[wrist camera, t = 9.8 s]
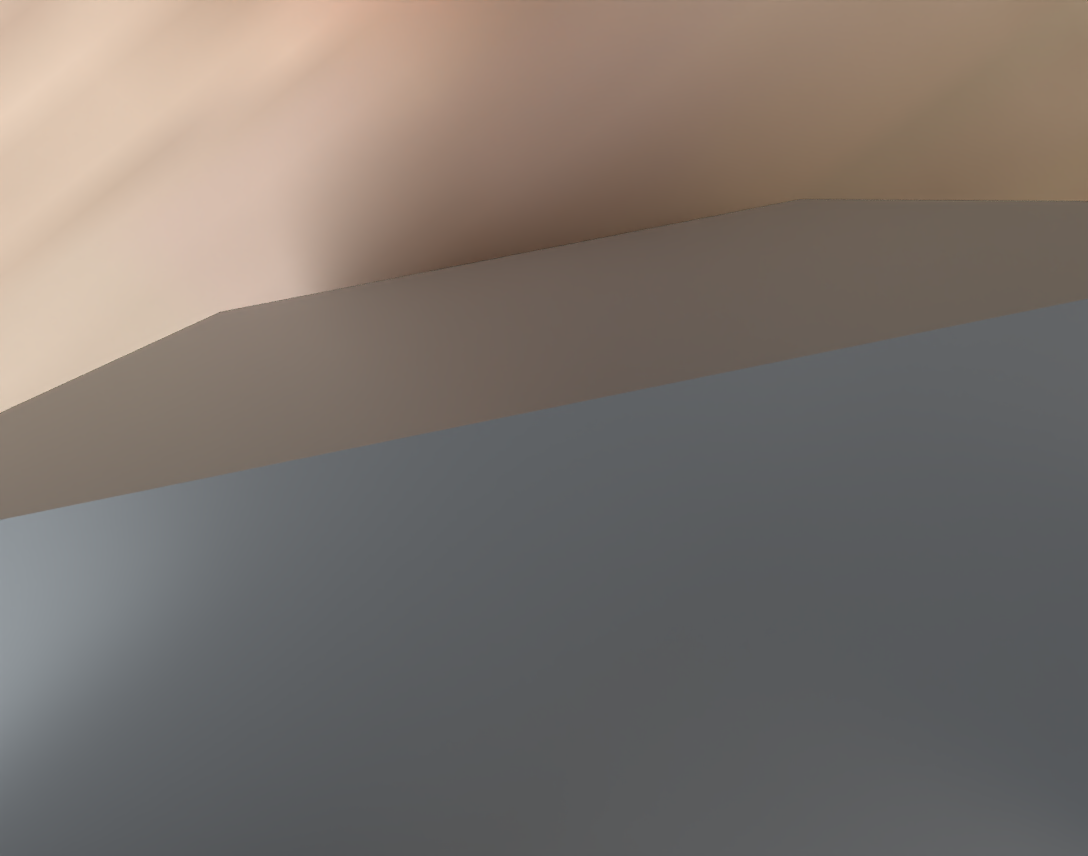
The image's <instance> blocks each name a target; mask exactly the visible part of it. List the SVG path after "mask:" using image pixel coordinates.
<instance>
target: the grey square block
mask: <svg viewBox="0 0 1088 856" xmlns="http://www.w3.org/2000/svg"><path fill="white" fill-rule="evenodd" d="M0 856H1088V201H998V200H845V199H799V200H794V201H789V202H784V203H778V204H773V205H768V206H763V207H758V208H753V209H748V210H742V211H737V212H732V213H727V214H722V215H717V216H711V217H706V218H701V219H696V220H691V221H686V222H681V223H675V224H670V225H665V226H660V227H655V228H650V229H645V230H639V231H634V232H629V233H624V234H619V235H614V236H609V237H603V238H598V239H593V240H588V241H583V242H578V243H573V244H567V245H562V246H557V247H552V248H547V249H542V250H536V251H531V252H526V253H521V254H516V255H511V256H506V257H500V258H495V259H490V260H485V261H480V262H475V263H470V264H464V265H459V266H454V267H449V268H444V269H439V270H434V271H428V272H423V273H418V274H413V275H408V276H403V277H398V278H392V279H387V280H382V281H377V282H372V283H367V284H362V285H356V286H351V287H346V288H341V289H336V290H331V291H325V292H320V293H315V294H310V295H305V296H300V297H295V298H289V299H284V300H279V301H274V302H269V303H264V304H259V305H253V306H248V307H243V308H238V309H233V310H228V311H223V312H219V313H217V314H215V315H212V316H210V317H208V318H206V319H204V320H201V321H199V322H197V323H195V324H193V325H191V326H188V327H186V328H184V329H182V330H180V331H177V332H175V333H173V334H171V335H169V336H167V337H164V338H162V339H160V340H158V341H156V342H154V343H151V344H149V345H147V346H145V347H143V348H140V349H138V350H136V351H134V352H132V353H130V354H127V355H125V356H123V357H121V358H119V359H116V360H114V361H112V362H110V363H108V364H106V365H103V366H101V367H99V368H97V369H95V370H93V371H90V372H88V373H86V374H84V375H82V376H79V377H77V378H75V379H73V380H71V381H69V382H66V383H64V384H62V385H60V386H58V387H55V388H53V389H51V390H49V391H47V392H45V393H42V394H40V395H38V396H36V397H34V398H31V399H29V400H27V401H25V402H23V403H21V404H18V405H16V406H14V407H12V408H10V409H8V410H5V411H3V412H1V413H0Z"/></svg>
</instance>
